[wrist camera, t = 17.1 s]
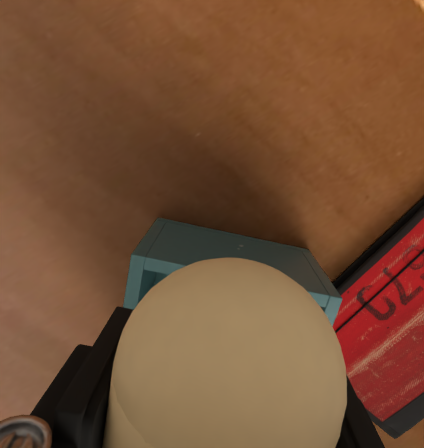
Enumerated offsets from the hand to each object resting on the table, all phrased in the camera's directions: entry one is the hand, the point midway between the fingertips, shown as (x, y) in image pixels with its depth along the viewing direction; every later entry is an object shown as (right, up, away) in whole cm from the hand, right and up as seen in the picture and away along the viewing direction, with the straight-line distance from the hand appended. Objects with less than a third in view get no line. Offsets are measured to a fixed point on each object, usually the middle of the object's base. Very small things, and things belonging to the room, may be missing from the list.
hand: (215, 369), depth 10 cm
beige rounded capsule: (0, 0, 0) cm, 0 cm away
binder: (+19, -4, +21) cm, 29 cm away
